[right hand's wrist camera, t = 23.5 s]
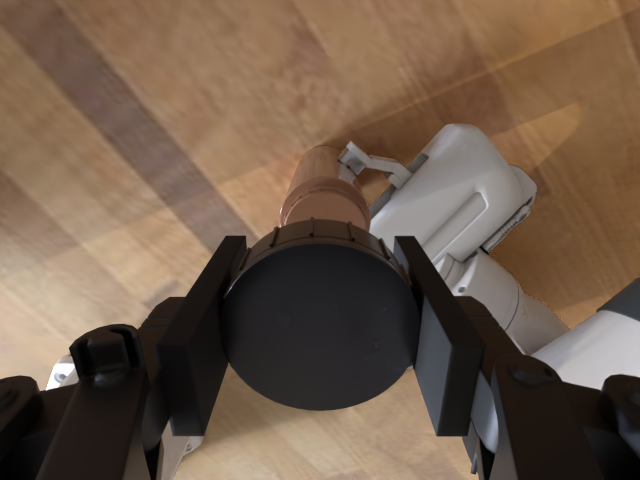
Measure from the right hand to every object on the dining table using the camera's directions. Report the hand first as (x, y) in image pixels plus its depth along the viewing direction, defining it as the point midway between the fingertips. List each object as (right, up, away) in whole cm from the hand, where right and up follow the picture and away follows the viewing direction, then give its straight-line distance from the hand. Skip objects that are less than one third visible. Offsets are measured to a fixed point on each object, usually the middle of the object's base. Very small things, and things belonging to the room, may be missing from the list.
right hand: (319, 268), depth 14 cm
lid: (0, -2, -4) cm, 4 cm away
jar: (0, +7, +19) cm, 20 cm away
